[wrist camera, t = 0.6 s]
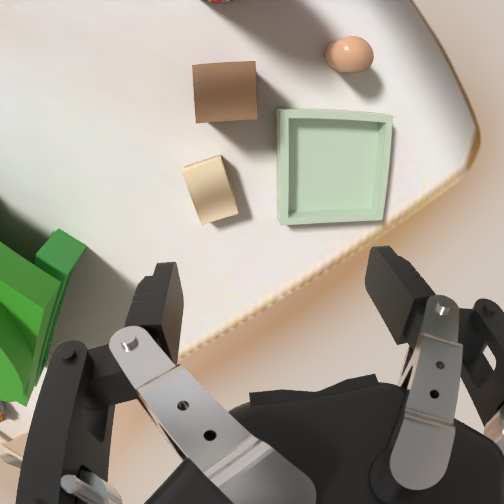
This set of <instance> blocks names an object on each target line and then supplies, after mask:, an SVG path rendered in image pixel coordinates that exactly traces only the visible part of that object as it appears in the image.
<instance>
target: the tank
mask: <svg viewBox="0 0 504 504" xmlns="http://www.w3.org/2000/svg"><path fill="white" fill-rule="evenodd" d="M85 248H86V245H85V244H83V243H81V242H80V241H78V240H77V239H75V238H73V237H72V236H70V235H69V234H67V233H65V232H64V231H62V230H61V229H58V230H57V231H56V232H55V231H53V232H52V235H51V237H50V238H49V239H48V241H47V242H46V243H45V244H44V245H43V246H42V247H41V248H40V250H39V251H38V252H37V253H36V256H35V260H34V264H32V263H31V262H29V261H28V260H26V259H25V258H23V257H22V256H20V255H19V254H17V253H16V252H14V251H13V250H12V249H10V248H9V247H7V246H6V245H5V244H3V243H2V242H0V400H1V401H6V402H14V401H17V402H19V403H20V404H22V405H24V406H25V407H26V406H27V403H28V401H29V398H30V396H31V393H32V391H33V388H34V386H37V383H38V381H39V378H40V376H41V374H42V371H43V369H44V367H45V365H46V361H47V357H48V353H49V349H50V345H51V341H52V337H53V333H54V329H55V326H56V322H57V319H58V315H59V312H60V308H61V305H62V302H63V299H64V296H65V292H66V289H67V286H68V283H69V280H70V278H71V275H72V272H73V269H74V266H75V264H76V262H77V261H78V259H79V258H80V256H81V255H82V254H83V252H84V251H85Z"/></svg>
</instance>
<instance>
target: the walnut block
mask: <svg viewBox="0 0 504 504" xmlns="http://www.w3.org/2000/svg"><path fill="white" fill-rule="evenodd" d="M192 68H193V86H194V102H195V117H196V123H205V122H218V121H233V120H253V119H257V92H256V64H255V61H245V62H224V63H210V64H199V65H192Z"/></svg>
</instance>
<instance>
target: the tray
mask: <svg viewBox="0 0 504 504" xmlns="http://www.w3.org/2000/svg"><path fill="white" fill-rule="evenodd" d="M392 122H393V116H391V115H387V114H382V113H372V112H361V111H347V110H328V109H276V133H277V218H278V220H279V223H280V225H295V224H313V223H331V222H351V221H373V220H382V219H383V213H384V206H385V198H386V190H387V182H388V172H389V162H390V151H391V138H392Z"/></svg>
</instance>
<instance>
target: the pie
mask: <svg viewBox="0 0 504 504" xmlns="http://www.w3.org/2000/svg"><path fill="white" fill-rule="evenodd" d="M4 420H6V414H5V405H4V403H3V402H2V401H1V400H0V422H1V421H4Z"/></svg>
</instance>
